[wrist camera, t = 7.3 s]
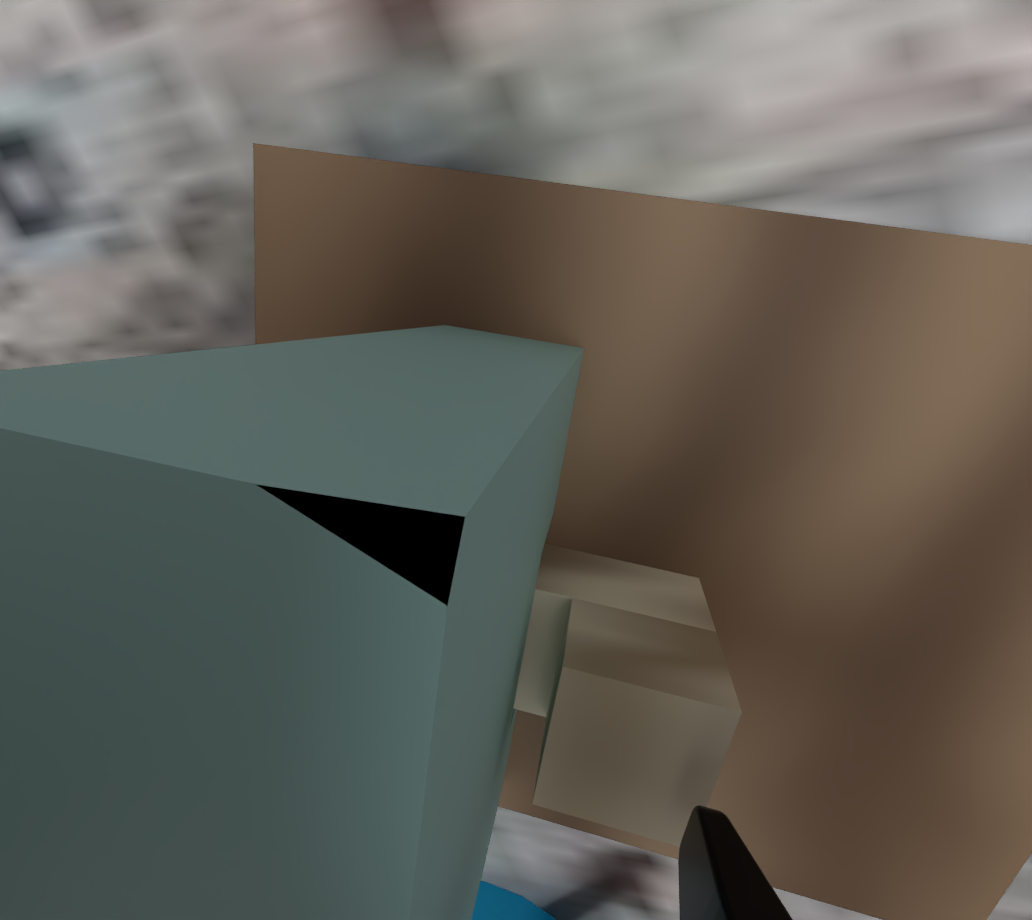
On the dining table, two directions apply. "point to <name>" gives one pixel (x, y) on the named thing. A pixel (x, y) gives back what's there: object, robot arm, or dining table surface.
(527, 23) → the dining table surface
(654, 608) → the cream handle bar
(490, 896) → the mug
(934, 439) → the board
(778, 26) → the dining table surface
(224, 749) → the teal block
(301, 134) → the dining table surface
